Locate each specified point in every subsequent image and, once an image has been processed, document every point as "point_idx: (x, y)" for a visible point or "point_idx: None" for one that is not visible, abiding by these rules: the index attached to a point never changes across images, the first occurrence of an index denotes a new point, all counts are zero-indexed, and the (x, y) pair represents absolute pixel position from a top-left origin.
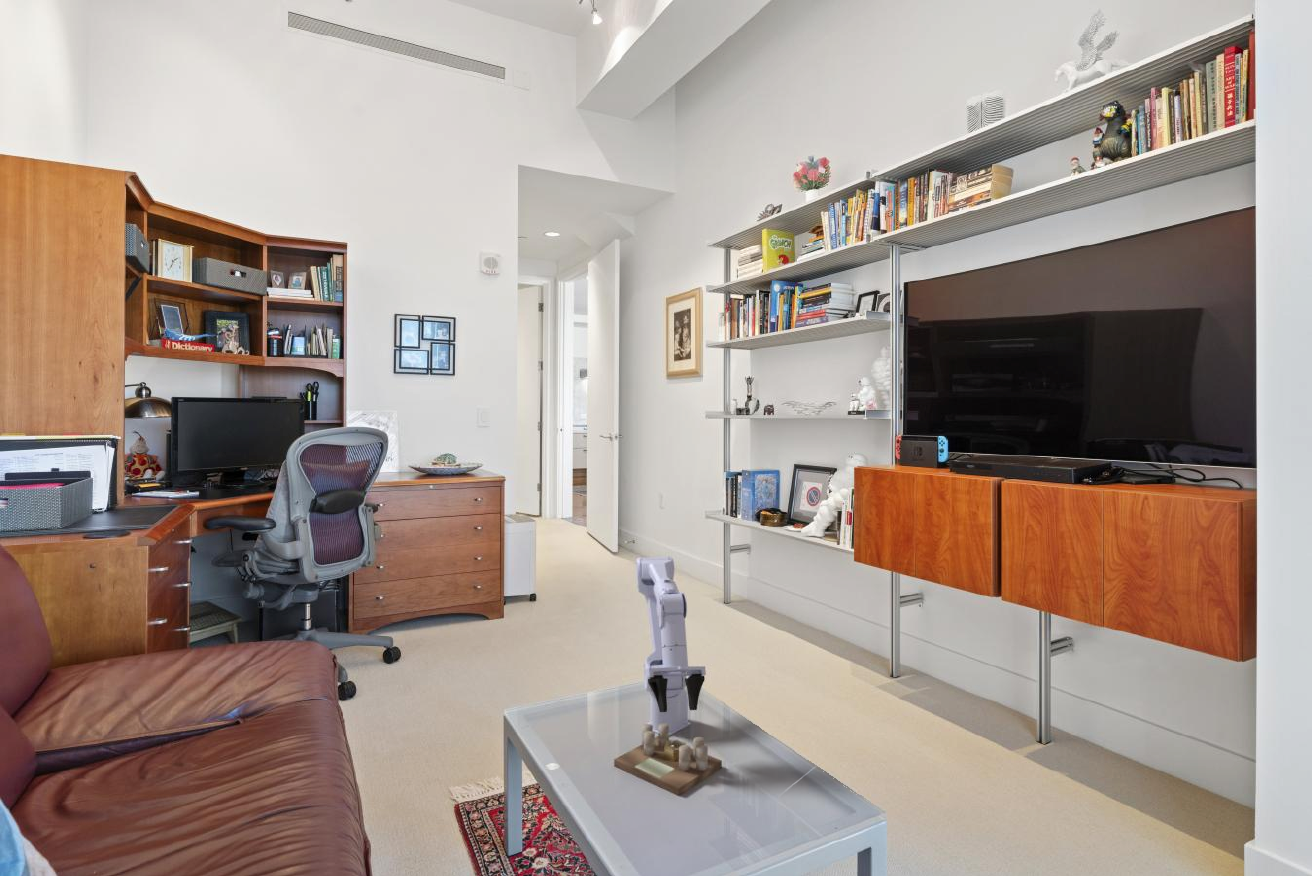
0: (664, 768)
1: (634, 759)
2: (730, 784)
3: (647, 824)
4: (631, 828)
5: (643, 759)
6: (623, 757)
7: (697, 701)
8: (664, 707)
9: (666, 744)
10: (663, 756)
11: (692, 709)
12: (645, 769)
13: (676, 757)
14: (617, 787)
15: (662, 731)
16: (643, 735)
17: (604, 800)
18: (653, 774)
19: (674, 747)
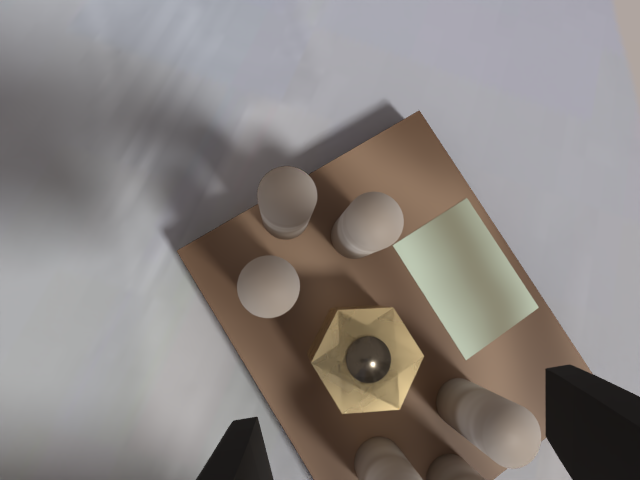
0: (431, 259)
1: (527, 368)
2: (204, 138)
3: (535, 25)
4: (580, 23)
5: (493, 357)
6: None
7: (205, 469)
8: (600, 380)
9: (408, 378)
10: None
11: (263, 448)
12: (502, 275)
13: (369, 306)
14: (586, 242)
15: (417, 477)
16: None
17: (634, 181)
18: (482, 228)
19: (379, 335)
